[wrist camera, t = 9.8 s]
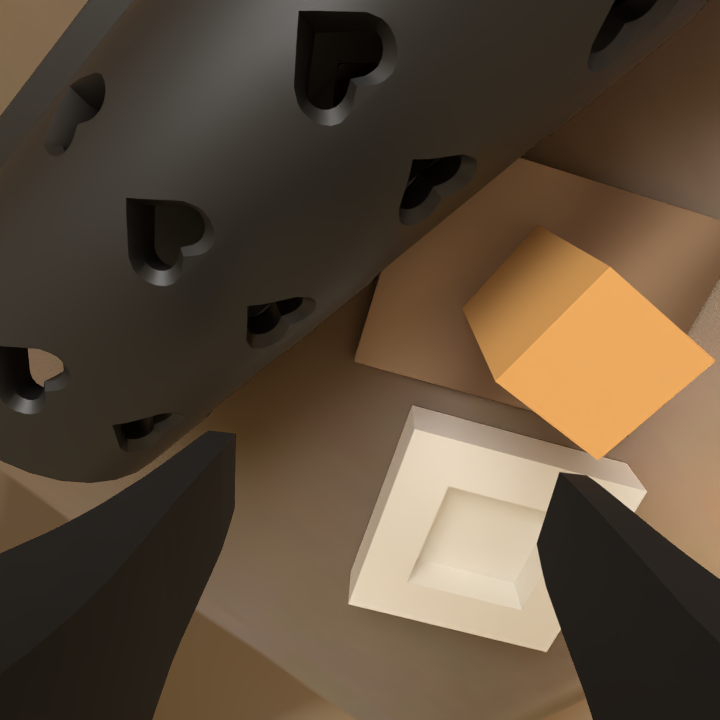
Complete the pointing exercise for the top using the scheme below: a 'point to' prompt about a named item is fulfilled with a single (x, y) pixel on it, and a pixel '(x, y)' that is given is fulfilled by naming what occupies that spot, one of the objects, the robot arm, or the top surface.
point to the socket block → (470, 528)
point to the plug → (579, 342)
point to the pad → (498, 241)
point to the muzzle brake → (251, 187)
